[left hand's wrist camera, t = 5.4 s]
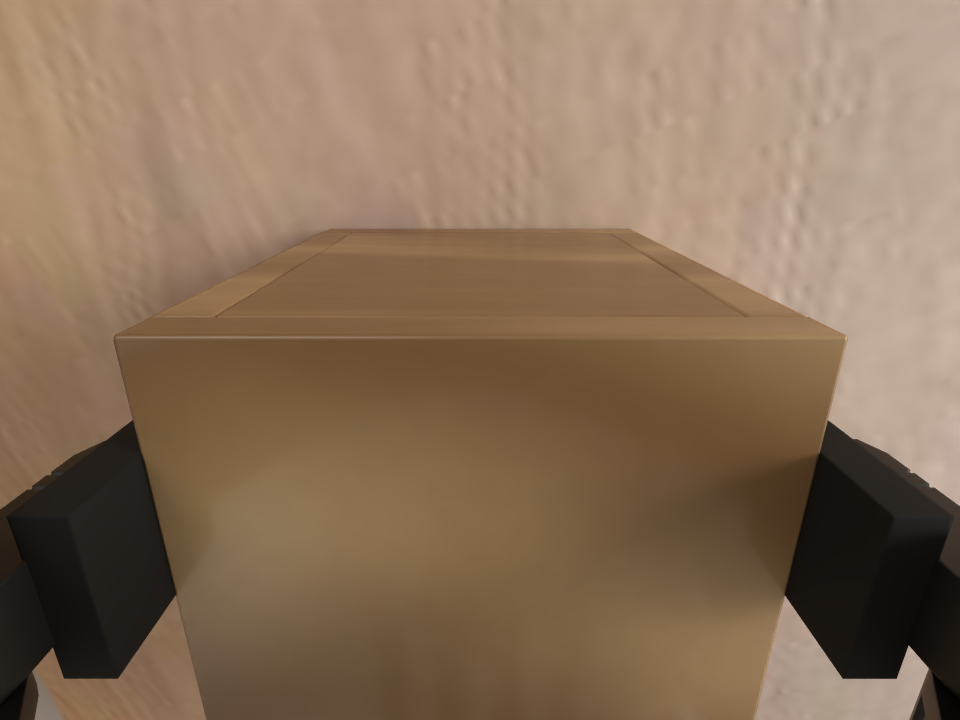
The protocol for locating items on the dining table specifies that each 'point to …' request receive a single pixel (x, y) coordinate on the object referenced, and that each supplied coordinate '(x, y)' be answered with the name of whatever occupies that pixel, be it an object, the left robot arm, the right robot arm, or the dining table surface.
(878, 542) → the left robot arm
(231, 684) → the cabinet
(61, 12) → the dining table surface
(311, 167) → the dining table surface
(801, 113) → the dining table surface
